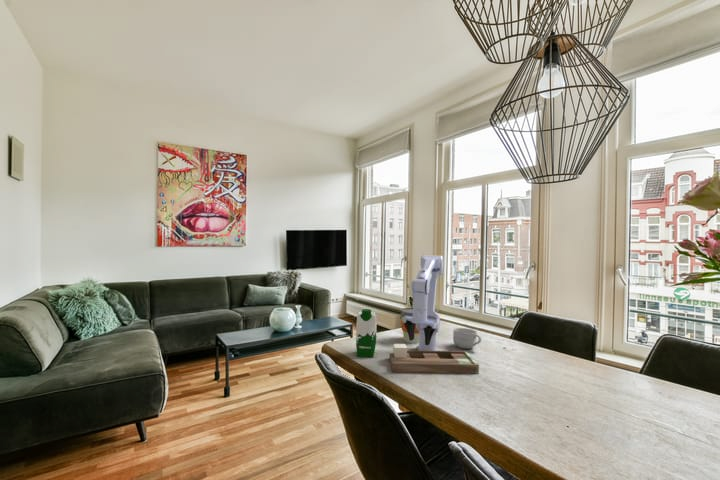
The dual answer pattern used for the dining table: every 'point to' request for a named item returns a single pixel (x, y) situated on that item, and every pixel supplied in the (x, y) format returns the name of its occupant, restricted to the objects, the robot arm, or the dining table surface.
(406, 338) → the reusable coffee cup
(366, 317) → the milk carton
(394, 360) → the trap box
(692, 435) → the dining table surface
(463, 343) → the teacup
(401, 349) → the block
